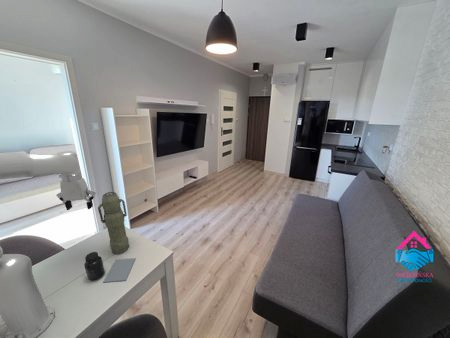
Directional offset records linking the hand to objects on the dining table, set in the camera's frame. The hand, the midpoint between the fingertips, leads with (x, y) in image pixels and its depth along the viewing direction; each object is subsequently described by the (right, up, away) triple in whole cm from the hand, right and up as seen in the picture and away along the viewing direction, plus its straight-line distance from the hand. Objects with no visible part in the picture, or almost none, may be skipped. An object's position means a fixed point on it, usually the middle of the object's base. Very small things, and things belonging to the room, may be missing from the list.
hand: (80, 208), depth 92 cm
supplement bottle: (+12, -31, -5) cm, 34 cm away
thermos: (+14, -26, +11) cm, 32 cm away
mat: (+22, -30, -2) cm, 37 cm away
